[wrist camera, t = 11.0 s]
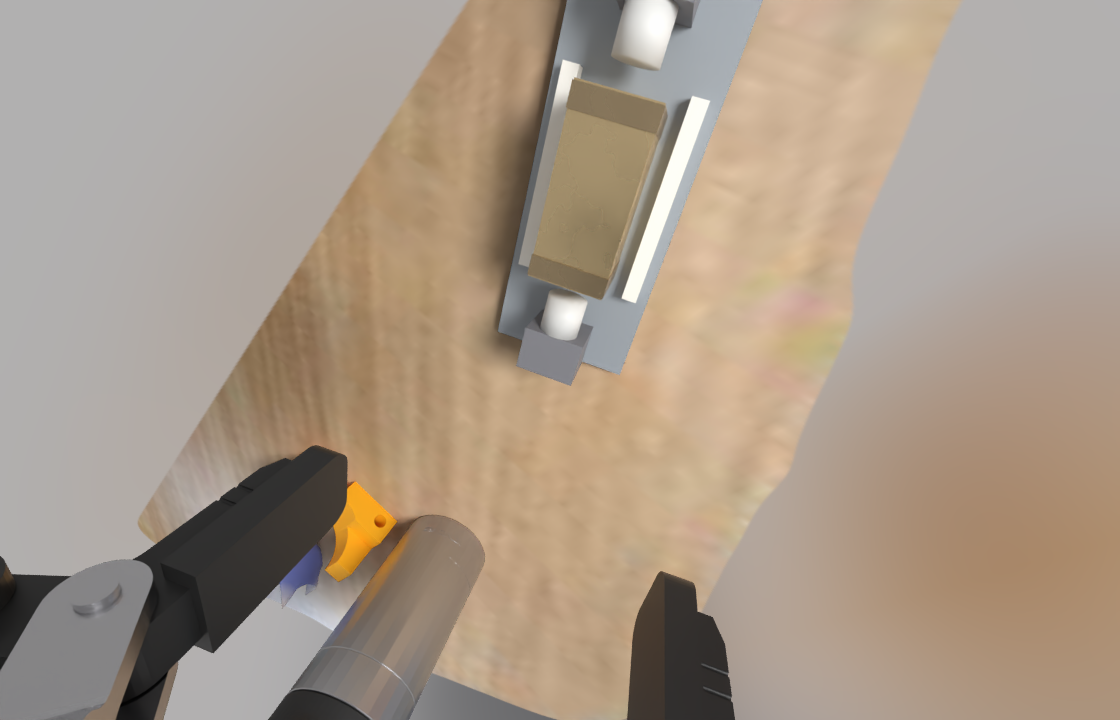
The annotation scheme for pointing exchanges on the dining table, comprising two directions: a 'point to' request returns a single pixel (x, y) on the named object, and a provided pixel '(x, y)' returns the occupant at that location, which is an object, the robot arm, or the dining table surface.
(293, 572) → the figurine
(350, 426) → the dining table surface
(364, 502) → the pipe clamp
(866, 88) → the dining table surface
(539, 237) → the tan tapered block
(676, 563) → the dining table surface
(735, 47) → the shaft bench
